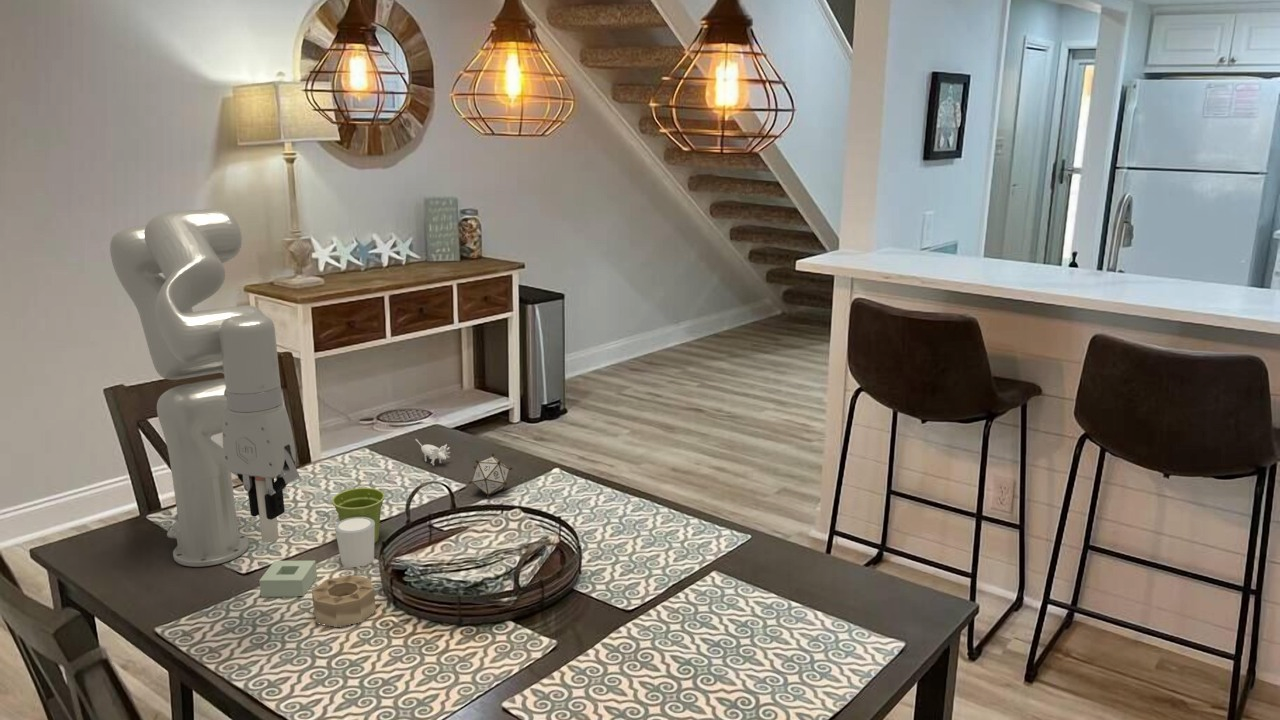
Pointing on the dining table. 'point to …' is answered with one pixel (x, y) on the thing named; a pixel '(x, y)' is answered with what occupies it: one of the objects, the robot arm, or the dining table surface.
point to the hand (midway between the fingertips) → (267, 513)
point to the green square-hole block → (288, 578)
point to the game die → (490, 475)
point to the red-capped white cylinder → (267, 526)
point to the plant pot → (360, 505)
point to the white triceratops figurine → (434, 452)
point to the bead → (343, 600)
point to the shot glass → (356, 541)
